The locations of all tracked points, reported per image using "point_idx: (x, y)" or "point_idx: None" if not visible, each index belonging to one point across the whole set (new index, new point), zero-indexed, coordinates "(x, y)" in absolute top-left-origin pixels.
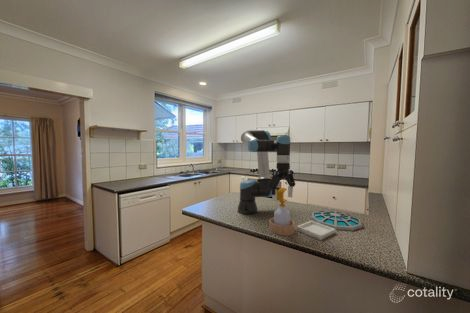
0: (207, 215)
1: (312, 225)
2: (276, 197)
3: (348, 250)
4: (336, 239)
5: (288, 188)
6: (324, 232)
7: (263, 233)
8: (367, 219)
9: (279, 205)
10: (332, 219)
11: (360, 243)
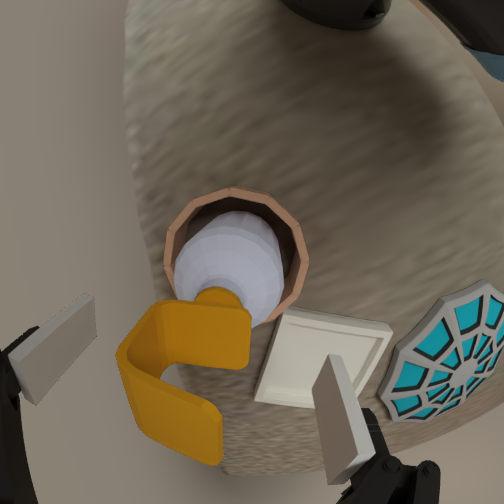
0: None
1: (362, 340)
2: (77, 352)
3: (249, 435)
4: (298, 411)
5: (347, 431)
6: None
7: (141, 207)
8: (480, 397)
9: (199, 293)
10: (423, 383)
11: (312, 442)
